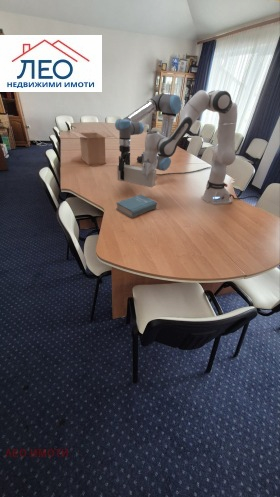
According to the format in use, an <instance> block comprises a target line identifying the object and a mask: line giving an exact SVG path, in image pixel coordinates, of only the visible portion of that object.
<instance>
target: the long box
mask: <svg viewBox="0 0 280 497" xmlns="http://www.w3.org/2000/svg"><path fill="white" fill-rule="evenodd" d="M116 166H117V171H116V172H117V181H119V182H124V183H129V184H133V185H138V186H142V187H147V188H151V189H152V188H153V187H154V186H156V178H157V175H156V174H157V169H155V170H152V171H151V172H150V173H149V174H148V180H145V176H144V175H142V166H141V167H140V166H137V165H131V164H130V165H126V164H124V170H123V171H124V180H121V179H120V171H119V164H118V165H116Z"/></svg>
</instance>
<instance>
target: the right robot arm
mask: <svg viewBox="0 0 280 497" xmlns="http://www.w3.org/2000/svg"><path fill="white" fill-rule="evenodd" d="M205 111H210V112H213V113H217V114H218V125H217V133H216V139H217V144H216V145H214V146H213V148H212V151H211V153H212V156H211V165H210V172H209V177H208V180H207V181H206V182H207V183H206V187H205V190H204V192H203V195H202V197H201V199H202V200H203V201H204V202H207V203H211V204H212V205H223V204H224V205H225V204H226V205H227V204H232V199H233V200H243V199H245V200H246V199H247V198H256V199H259V196H257V195H247V196H244V197H235V196H234V195H233V194H231V193H230V192H229V191H228V190H227V188H228V187H229V185H228V184H227V183H226V182H225V179H226V175H227V171H228V170H227V166H228V167H229V166H230V165H232V164H234V162H235V160H236V157H237V155H236V140H235V137H236V129H237V122H238V105H237V103H236V102H234V101H233V99H232V96H231V94H230V93H229V92H228V91H227V90H223V89H216V90H211V91H209V92H207V91H206V90H205V89H200V90H198V91H197V92H195V93H194V95H193V96H192V97H191V98H190V99H188V101H187V103H185V105H184V106H183V108H181V110H180V112H179V124H178V126H177V127H176V128H175V130H174V132H173V133H171V137H170V138H167V137H165V136H163V135H161V134H160V133H161V132H159V131H158V130H151V131H148V132H147V133H146V135H145V140H144V151H145V152H144V151H143V152H144V161H145V162H144V163H143V166H142V165H141V167H142V175H144V176H145V180H148V174H149V173H150V172H151V171H152V170H157V169H156V168H157V163H158V159H159V155H157V153H158V152H160V154H161V155H162V156H163V157H165V158H169V157H170V158H171V157H173V156H174V154H175V153H176V150H177V148H178V145H179V144H180V142H181V141H182V140H183V139H184V137H185V136H186V134H187V133H188V132H189V130H190V129H191V128H192V127H193V125H194V124H195V123H196V121H197V120H198V119H199V118H200V117H201V115H202V114H203V113H204V112H205ZM231 197H232V198H231Z"/></svg>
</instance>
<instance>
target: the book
mask: <svg viewBox="0 0 280 497" xmlns="http://www.w3.org/2000/svg"><path fill="white" fill-rule="evenodd" d="M115 204H116V210H117V211H119V212H121V213H122V214H124V215H126V216H128V217H129V218H130V219H131V218H134V217H137V216H141V215H142V214H145V213H147V212H150V211H153V210H155V209H157V206H158V202H157V201H156V200H154V199H151V197H150V198H149V197H147V196H145V195H143V194H137V195H134V196H131V197H128V198H126V199H123V200H119V201H117V202H116V203H115Z"/></svg>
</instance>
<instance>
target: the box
mask: <svg viewBox="0 0 280 497" xmlns="http://www.w3.org/2000/svg"><path fill="white" fill-rule="evenodd" d="M70 133H71V134H72V135H74V136H75V137H77V138H79V144H80V153H81V160H83V162H85V163H86V165H87V166H95V165H97V166H98V165H106V163H107V162H106V158H107V157H106V138H113V137H114V136H113V135H111V134H109V133H108V132H105V131H98V132H96V131H95V130H92V129H91V130H77V132H76V131H70Z"/></svg>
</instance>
